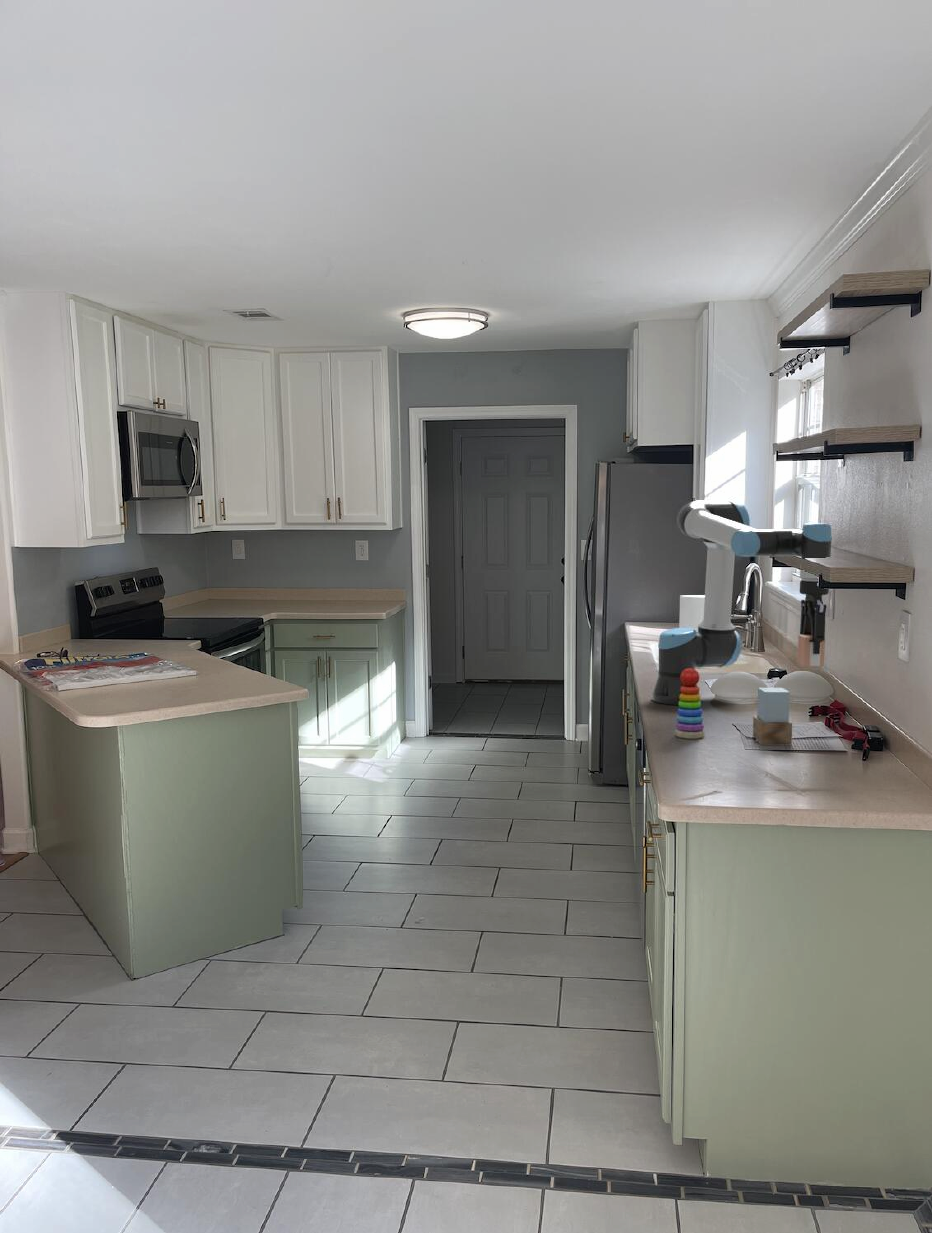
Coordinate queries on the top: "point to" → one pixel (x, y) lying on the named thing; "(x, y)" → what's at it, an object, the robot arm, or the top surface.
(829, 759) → the top surface
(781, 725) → the walnut block
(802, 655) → the terracotta block
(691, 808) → the top surface
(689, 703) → the stacking toy
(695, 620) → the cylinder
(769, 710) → the blue grey block
